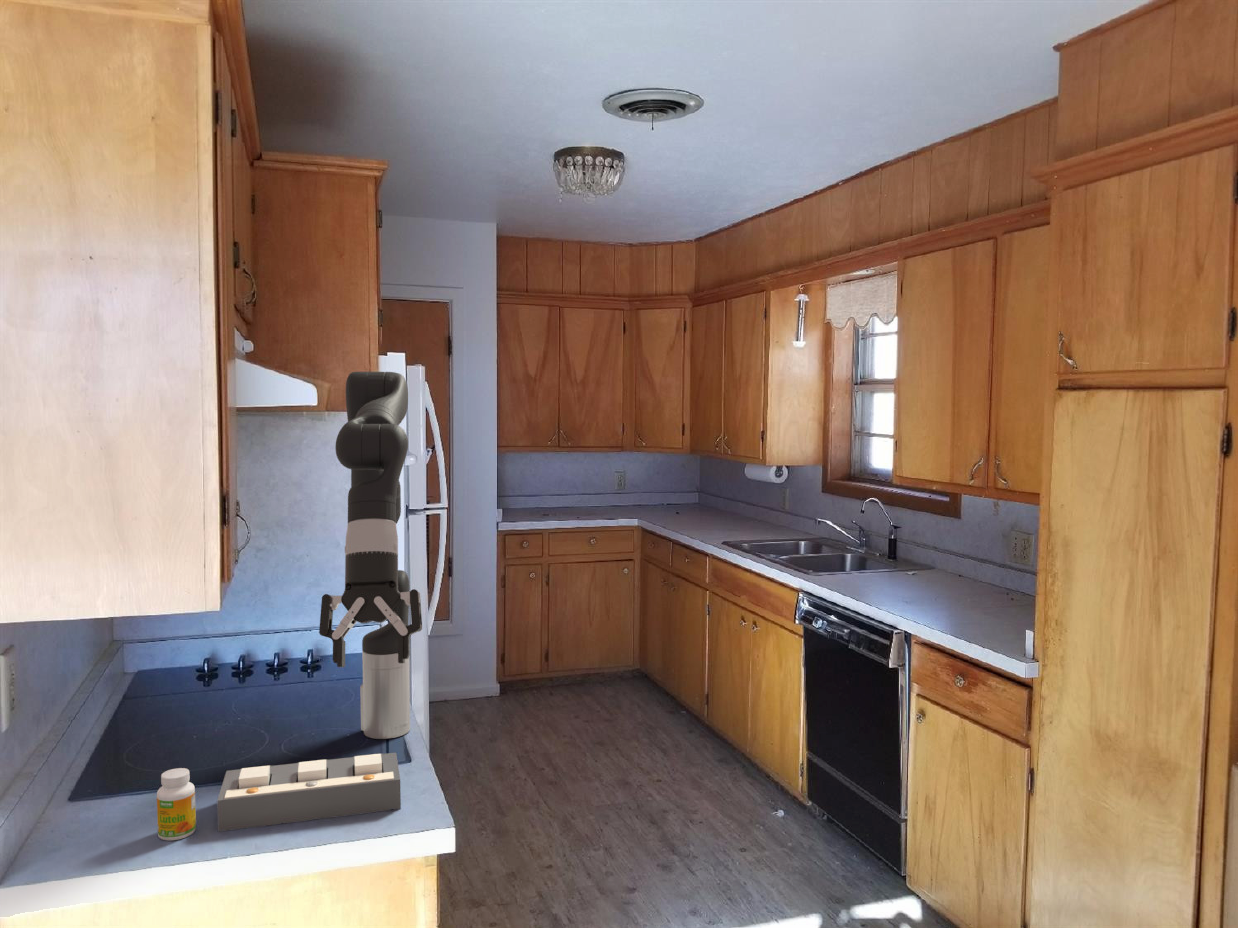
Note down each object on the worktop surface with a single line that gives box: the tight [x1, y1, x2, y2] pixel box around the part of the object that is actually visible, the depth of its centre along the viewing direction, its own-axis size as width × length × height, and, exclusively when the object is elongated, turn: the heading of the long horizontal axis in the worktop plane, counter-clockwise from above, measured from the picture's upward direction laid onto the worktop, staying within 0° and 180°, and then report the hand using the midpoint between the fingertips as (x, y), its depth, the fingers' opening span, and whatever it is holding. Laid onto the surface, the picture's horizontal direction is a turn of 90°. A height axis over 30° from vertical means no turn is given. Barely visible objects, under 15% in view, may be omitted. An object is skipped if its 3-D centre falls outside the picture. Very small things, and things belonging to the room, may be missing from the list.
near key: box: [239, 764, 271, 789], centre depth 149 cm, size 4×4×3 cm
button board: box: [216, 752, 402, 833], centre depth 152 cm, size 28×12×5 cm, turn 107°
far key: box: [353, 753, 382, 776], centre depth 155 cm, size 4×4×3 cm
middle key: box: [298, 759, 327, 782], centre depth 152 cm, size 4×4×3 cm
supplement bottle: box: [156, 767, 197, 842], centre depth 142 cm, size 5×5×10 cm
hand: (371, 665), depth 130 cm, fingers open, 8 cm apart
